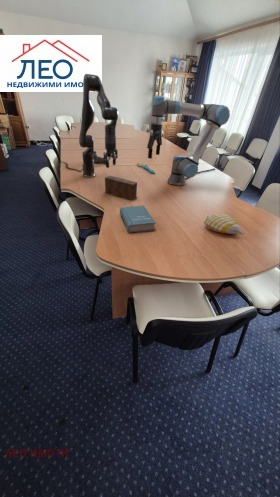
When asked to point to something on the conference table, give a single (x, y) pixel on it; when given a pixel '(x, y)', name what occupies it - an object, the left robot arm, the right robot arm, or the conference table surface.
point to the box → (121, 187)
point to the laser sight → (98, 158)
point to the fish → (223, 224)
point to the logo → (145, 167)
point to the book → (137, 219)
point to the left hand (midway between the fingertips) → (110, 166)
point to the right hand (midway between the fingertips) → (153, 156)
